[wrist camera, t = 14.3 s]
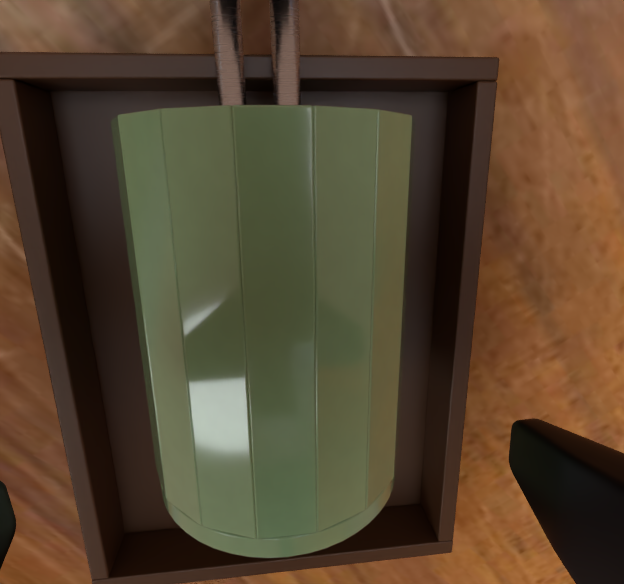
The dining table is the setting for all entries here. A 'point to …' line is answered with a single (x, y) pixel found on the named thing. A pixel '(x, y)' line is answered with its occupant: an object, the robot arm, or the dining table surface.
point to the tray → (121, 308)
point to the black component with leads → (232, 58)
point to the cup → (270, 313)
